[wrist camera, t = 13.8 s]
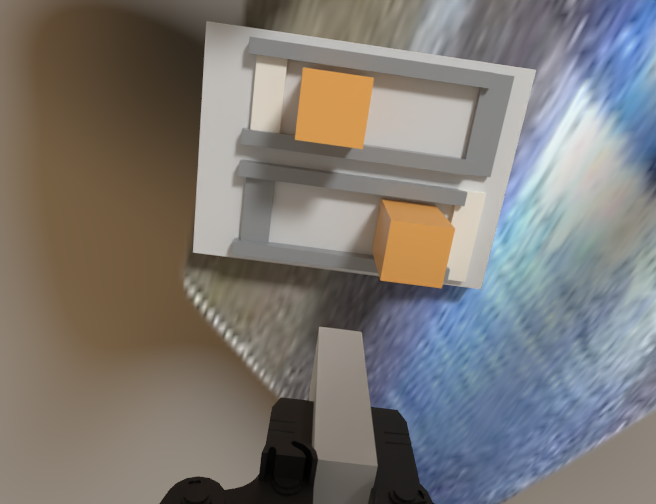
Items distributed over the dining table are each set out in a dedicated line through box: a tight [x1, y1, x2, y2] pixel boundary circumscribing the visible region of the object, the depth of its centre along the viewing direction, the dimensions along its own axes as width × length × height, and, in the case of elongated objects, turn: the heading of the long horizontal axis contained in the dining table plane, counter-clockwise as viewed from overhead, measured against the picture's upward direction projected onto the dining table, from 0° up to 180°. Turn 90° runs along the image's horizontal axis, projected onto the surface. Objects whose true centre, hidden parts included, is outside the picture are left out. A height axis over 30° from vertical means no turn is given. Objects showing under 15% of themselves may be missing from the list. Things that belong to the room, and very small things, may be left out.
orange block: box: [295, 67, 374, 149], centre depth 33 cm, size 4×4×6 cm
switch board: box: [193, 21, 536, 289], centre depth 37 cm, size 22×16×3 cm
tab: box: [372, 198, 455, 288], centre depth 35 cm, size 4×4×6 cm
